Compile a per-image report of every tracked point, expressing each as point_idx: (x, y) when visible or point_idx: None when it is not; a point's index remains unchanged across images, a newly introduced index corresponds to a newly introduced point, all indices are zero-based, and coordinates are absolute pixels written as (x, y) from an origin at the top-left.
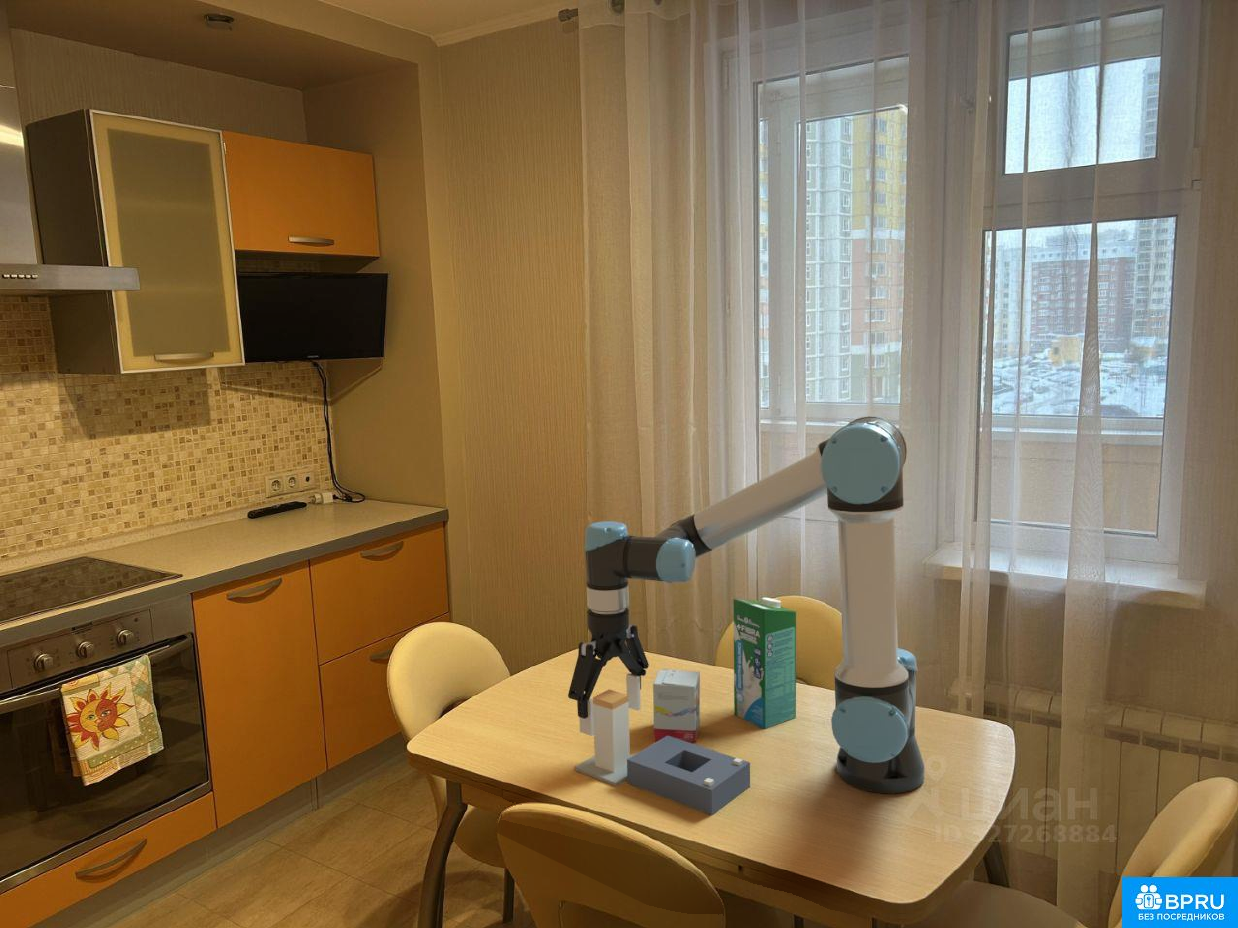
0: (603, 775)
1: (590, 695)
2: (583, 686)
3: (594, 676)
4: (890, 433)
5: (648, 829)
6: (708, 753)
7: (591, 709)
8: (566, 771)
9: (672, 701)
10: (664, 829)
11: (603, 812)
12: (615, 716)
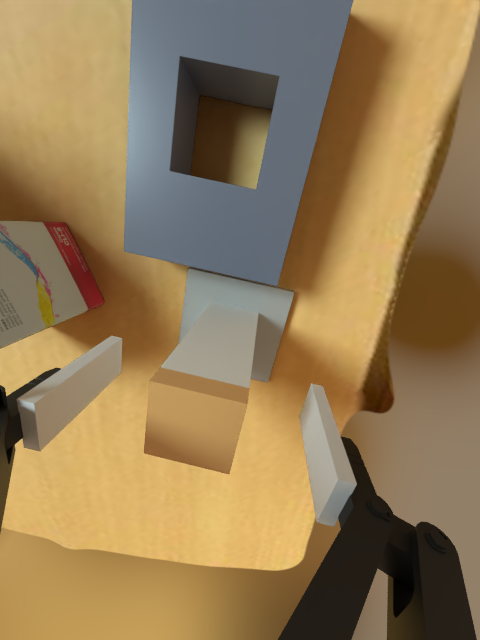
0: (276, 325)
1: (354, 507)
2: (446, 610)
3: (350, 630)
4: None
5: (447, 142)
6: (153, 87)
7: (339, 447)
8: (277, 387)
9: (4, 283)
10: (439, 103)
11: (398, 267)
12: (238, 368)
